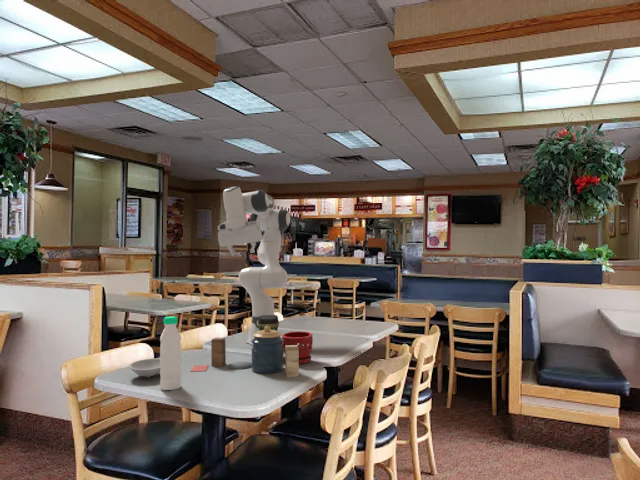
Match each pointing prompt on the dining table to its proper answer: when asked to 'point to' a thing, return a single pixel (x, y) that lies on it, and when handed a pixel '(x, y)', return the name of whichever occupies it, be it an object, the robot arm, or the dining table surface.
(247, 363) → the slate coaster
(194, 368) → the menu card
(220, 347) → the walnut block
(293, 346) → the maple block
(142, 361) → the dish
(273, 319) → the coffee jar
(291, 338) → the plant pot
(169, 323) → the water bottle
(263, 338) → the canister
